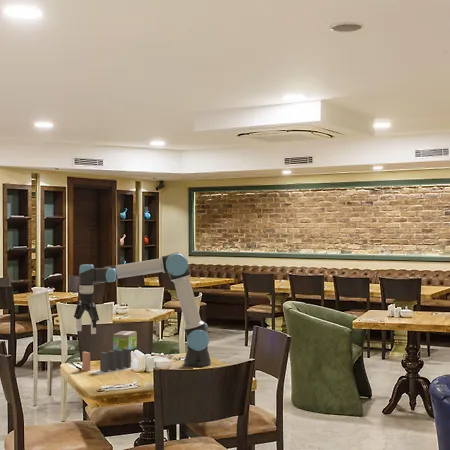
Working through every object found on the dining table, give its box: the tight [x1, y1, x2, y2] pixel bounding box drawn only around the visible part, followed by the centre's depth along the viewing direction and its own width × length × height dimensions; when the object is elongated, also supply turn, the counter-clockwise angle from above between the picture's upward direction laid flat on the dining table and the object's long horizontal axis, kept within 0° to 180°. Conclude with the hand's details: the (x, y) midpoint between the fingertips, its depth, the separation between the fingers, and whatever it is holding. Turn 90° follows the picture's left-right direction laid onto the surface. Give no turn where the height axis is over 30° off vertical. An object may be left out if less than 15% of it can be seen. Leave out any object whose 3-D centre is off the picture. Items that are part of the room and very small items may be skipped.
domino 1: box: [81, 351, 91, 372], centre depth 376 cm, size 5×2×10 cm, turn 45°
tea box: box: [112, 330, 138, 351], centre depth 414 cm, size 15×10×15 cm
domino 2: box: [99, 351, 108, 372], centre depth 372 cm, size 5×2×10 cm, turn 45°
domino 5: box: [123, 348, 132, 368], centre depth 383 cm, size 5×2×10 cm, turn 45°
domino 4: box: [115, 349, 123, 369], centre depth 379 cm, size 5×2×10 cm, turn 45°
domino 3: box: [107, 350, 116, 371], centre depth 375 cm, size 5×2×10 cm, turn 45°
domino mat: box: [87, 367, 132, 376], centre depth 375 cm, size 12×24×1 cm, turn 135°
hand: (86, 332), depth 376 cm, fingers open, 13 cm apart
